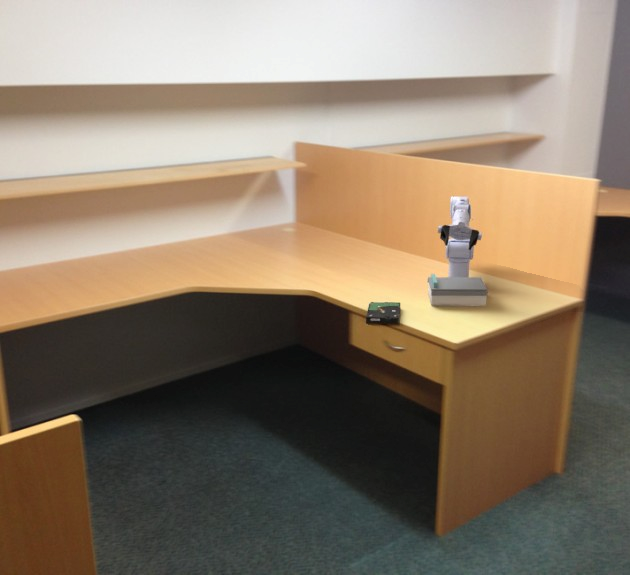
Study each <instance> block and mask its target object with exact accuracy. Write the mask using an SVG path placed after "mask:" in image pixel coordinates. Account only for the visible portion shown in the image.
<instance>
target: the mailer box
mask: <svg viewBox="0 0 630 575" xmlns="http://www.w3.org/2000/svg"><path fill="white" fill-rule="evenodd" d="M427 283H428V284H427V285H428V286H427V287H428V288H427V289H428V290H427V294H428V299H429V303H430V306H432V307H486V306H487V296H431V288H430V285H429V281H428V280H427Z"/></svg>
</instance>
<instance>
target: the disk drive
mask: <svg viewBox="0 0 630 575" xmlns="http://www.w3.org/2000/svg"><path fill="white" fill-rule="evenodd" d="M400 313H401V302H391V301H390V302H388V301H384V302H383V301H382V302H377V301H375V302H374V301H370V302H369V303H368V307H367V312H366V316H365V323H366V324H372V325H373V324H377V325H379V324H380V325H399V323H400Z"/></svg>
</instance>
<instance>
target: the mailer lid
mask: <svg viewBox="0 0 630 575" xmlns="http://www.w3.org/2000/svg"><path fill="white" fill-rule="evenodd" d="M428 281H429V285H430V288H431V296H486V297H487V296H488V293H489V291H488V287H487V286H486V283H485V282H484V281H483V278H482V277H480V276H478V277H477V276H476V277H475V276H474V277H471V276H469V277H447V276H446V277H444V276H443V277H441V276H440V277H437V276H436V274H435V273H431V274H430V277H429V276H428V278H427V282H428Z"/></svg>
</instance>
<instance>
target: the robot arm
mask: <svg viewBox="0 0 630 575" xmlns="http://www.w3.org/2000/svg"><path fill="white" fill-rule="evenodd" d="M453 196H454V195H452V196H450V203H449V204H450V205H449V211H450V212H449V214H450V215H449V216H450V218H451V220H452V221H451V224H444V225H438V229H437V234H440V236H439V238H440V240H441V241H443V243H444V246H445V258H446V259H447V260H448V277H470V261H472V260H473V259H474V252H475V251H474V250H475V249H474V248H475V246H477V242H478V241H481V240H482V236H483V233H482V232H480V231H479V230H477V229H474V228H472V227H470V219H471V205H470V204H469V199H468V197H469V196H454V197H453Z"/></svg>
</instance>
